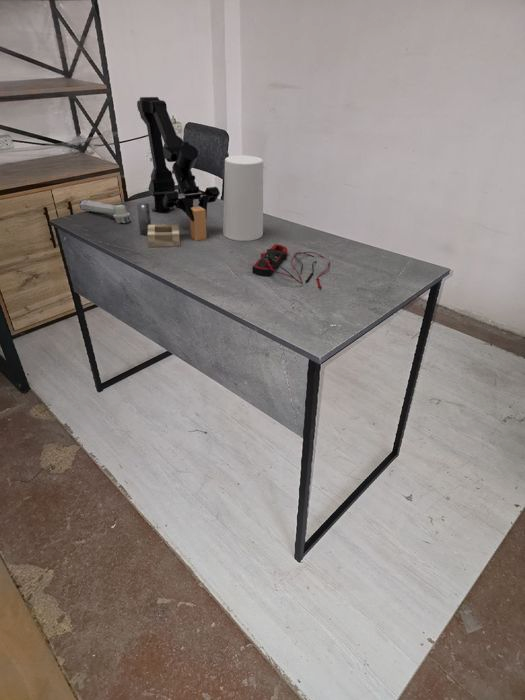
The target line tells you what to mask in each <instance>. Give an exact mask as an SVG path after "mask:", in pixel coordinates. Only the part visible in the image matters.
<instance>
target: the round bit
mask: <svg viewBox="0 0 525 700" xmlns="http://www.w3.org/2000/svg"><path fill="white" fill-rule="evenodd" d="M136 208H137V215H138V227H139V233H140V236H143V235H144V237H146V236H147V237H148V225H152V220H151V219H152V218H151V209H150V204H149V203H148V202H139V203H137V204H136Z"/></svg>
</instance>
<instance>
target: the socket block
mask: <svg viewBox="0 0 525 700" xmlns="http://www.w3.org/2000/svg"><path fill="white" fill-rule="evenodd" d="M179 230H180V229H179V223H170V224H168V223H167V224H166V223H164V224H163V223H161V224H151V225H148V236H147V242H148V243H147V244H148V248H158V247H159V248H160V247H163V248H164V247H166V248H167V247H181V242H180V231H179Z"/></svg>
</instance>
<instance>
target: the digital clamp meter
mask: <svg viewBox="0 0 525 700" xmlns="http://www.w3.org/2000/svg"><path fill="white" fill-rule="evenodd" d="M310 253H311V254H313V255H311V254H310ZM302 254H304V255H307V256H310V257H312V258H314V257H315V256H314V255H317V256H319V257H321V258H324V259H325V258H326V257H325V256H323V255H322V254H319V253H317V252H314V251H304V252H303V251H302V252H301V251H300V252H299V251H298V252H294V254H293V257H292V259H291V261H290V263H291V267H292V268H293V269H294V270H295V271H296V273H297V275H298V276H299V279H300V281H299V279H297V278H295V276H293V274H291V273H290V272H289V271H288V270H287V269H285V268H284V267H282V266H280V265H281V264H282V262H283V261H287V256H288V248H287V247H286V246H285V245H282V244H273V245H272V246H271V247H270V248H267V249H266V252H263V253H260V258H259V259H258V260H257V261H256V262H255V263H254V265H252V274H254V275H256V276H259V277H271V276H272V275H273V274H274V272H275V273H277V274H281V275H284V276H287V277H289V278H291V279H294V280H295V281H297V282H298V283H299V284H302V283H303V279H302V277H301V275H302V270H303V266H304V265H303V262H302V261H301V260H300V259H299V258H298V257H296V256H298V255H302ZM294 258H295V259H296V260H298V262H299V263H300V264H301V267H300V273H299V271H298V270H297V269H296V267H295V266H294V265H293V260H294ZM317 262H318V261H317V260H316V261H313V262H312V264H311V265H312V266H311V268H312V270H311V273H310V275H309V276H308V277H307V279H306V280H305V284H308V283H309V282H310V280H311V279H312V277H313V276H314V264H315V263H317ZM330 264H331V262H330V261H328V264H327V267H326V268H325V269H324V270H323V272H321V273H320V274H319V275H318V276H317V277H316V279H315V281H316V284H317V288H318V289H319V291H320V293H322V285H321V283H320V279H319V277H320V276H321V275H322V274H324V273H325V272H326V271H327V270H328V269H329V267H330ZM278 267H280V268H281V269H282V270H284V271H285V272H286V273H287V274H286V273H284V272H281V271H277V270H276V269H278Z"/></svg>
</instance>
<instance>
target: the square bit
mask: <svg viewBox="0 0 525 700" xmlns="http://www.w3.org/2000/svg"><path fill="white" fill-rule="evenodd" d="M191 209H192V212H193V216H194V222H192V220H191V219H190V218H189V227H190V238H191V239H193V240H194V241H202V240H207V217H206V210H205V209H204V208H202V207H201V206H194V207H192V208H191Z"/></svg>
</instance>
